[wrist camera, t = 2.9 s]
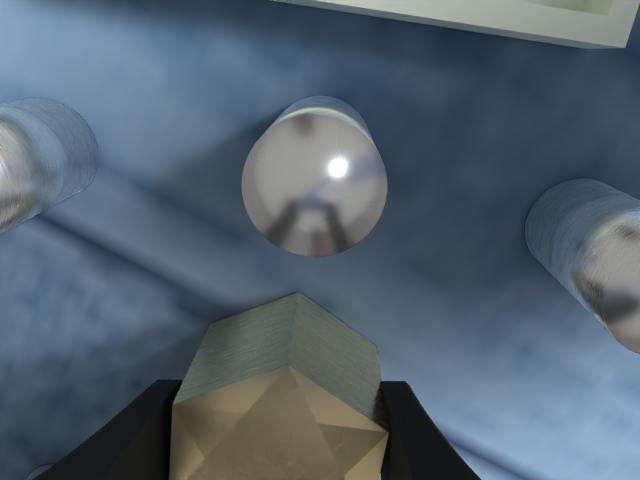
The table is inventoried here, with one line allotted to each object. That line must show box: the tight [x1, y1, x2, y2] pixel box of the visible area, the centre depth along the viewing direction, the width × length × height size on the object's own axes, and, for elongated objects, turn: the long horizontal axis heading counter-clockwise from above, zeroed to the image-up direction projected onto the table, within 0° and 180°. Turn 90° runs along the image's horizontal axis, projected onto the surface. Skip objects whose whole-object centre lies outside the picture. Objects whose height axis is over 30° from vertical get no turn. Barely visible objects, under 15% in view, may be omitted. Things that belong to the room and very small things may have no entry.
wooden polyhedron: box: [169, 292, 389, 480], centre depth 13 cm, size 5×5×3 cm
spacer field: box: [0, 95, 640, 480], centre depth 13 cm, size 15×16×4 cm
